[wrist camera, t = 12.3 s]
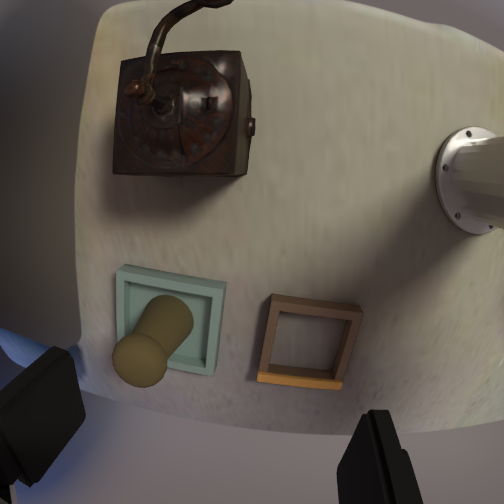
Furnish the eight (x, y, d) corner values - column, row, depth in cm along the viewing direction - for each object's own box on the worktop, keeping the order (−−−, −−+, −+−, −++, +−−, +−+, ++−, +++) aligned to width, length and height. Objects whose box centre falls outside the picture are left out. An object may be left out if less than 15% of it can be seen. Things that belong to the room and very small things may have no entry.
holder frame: (359, 305, 35) (364, 314, 32) (337, 378, 37) (340, 390, 35) (271, 293, 35) (271, 302, 32) (257, 369, 37) (256, 381, 35)
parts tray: (226, 282, 35) (223, 289, 33) (216, 365, 38) (213, 376, 35) (125, 264, 35) (116, 270, 33) (125, 345, 38) (118, 354, 36)
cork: (187, 348, 37) (160, 406, 26) (141, 331, 37) (100, 382, 26) (199, 304, 35) (170, 356, 24) (149, 287, 35) (104, 330, 24)
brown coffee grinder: (253, 178, 32) (230, 181, 15) (150, 176, 33) (42, 184, 15) (259, 38, 29) (245, -68, 11) (159, 43, 29) (79, -37, 12)
